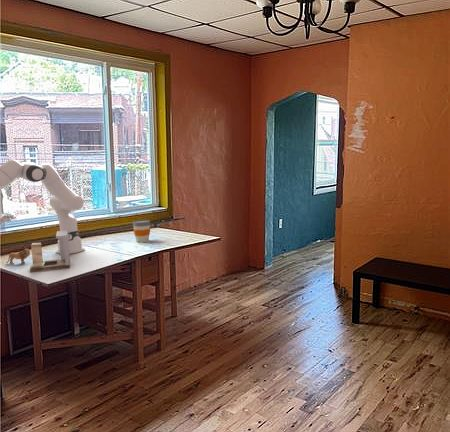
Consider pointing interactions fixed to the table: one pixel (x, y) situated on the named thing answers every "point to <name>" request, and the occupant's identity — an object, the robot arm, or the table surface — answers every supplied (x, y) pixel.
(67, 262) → the grey tunnel
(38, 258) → the beech block
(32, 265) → the sage pad
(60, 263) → the walnut board
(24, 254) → the lion figurine
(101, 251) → the table surface
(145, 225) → the reusable coffee cup
